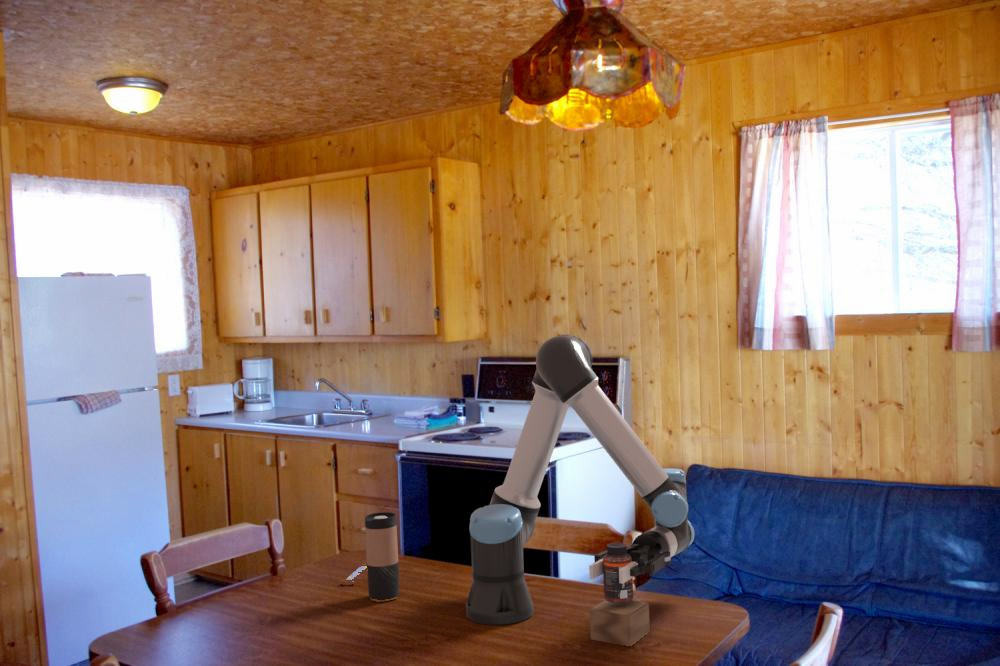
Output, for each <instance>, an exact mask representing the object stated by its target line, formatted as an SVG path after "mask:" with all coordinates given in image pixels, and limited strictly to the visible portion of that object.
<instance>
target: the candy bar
mask: <svg viewBox="0 0 1000 666" xmlns="http://www.w3.org/2000/svg"><path fill="white" fill-rule="evenodd" d="M360 566H361V565H360ZM360 566H359V567H358V568H357V569H356V571H355V570H354V571H353V572H352V573H351V574H350V575H349V576H348V577H346V578H347V579H346V578H345V579H346V580H352V579H354V577H356V576H357V575H359V574H360V573H358V572H362V570H365V569H366V568H367V566H361V567H360ZM345 579H344V580H345ZM344 580H343V579H341V580H340V582H341V581H344ZM345 582H346V581H345ZM352 582H354V581H352Z"/></svg>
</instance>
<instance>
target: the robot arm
mask: <svg viewBox="0 0 1000 666" xmlns="http://www.w3.org/2000/svg"><path fill="white" fill-rule="evenodd" d="M592 356H593V355H592V352H591V348H589V346H588V344H587V343H586V342H585V341H584V340H583V339H581V338H580V337H577V336H575V335H571V334H569V333H568V334H561V335H556V336H553V337H550V338H548V339H547V340H545V341H544V342H543V343H542V344H541V345H540V347H539V348H538V351H537V353H536V357H535V365H536V370H535V372H534V376H533V379H532V381H531V383H532V385H533V388H534V390H535V392H534V395H533V398H532V401H531V404H530V406H529V409H528V413H527V415H526V418H525V421H524V423H523V427H522V429H521V433H520V436H519V439H518V441H517V444H516V447H515V450H514V452H513V456H512V458H511V461H510V464H509V466H508V470H507V473H506V476H505V478H504V481H503V483H502V485H499V486H497V487H495V489H494V491H493V493H492V497H491V500H490V503H489V504H488V505H484V506H483V507H479V508H476V509H475V510H474V511H473V512H472V513H471V515H470V518H469V521H470V522H469V527H468V528H469V534H470V555H471V556H470V557H471V571H472V574H471V575H472V581H471V585H470V589H469V593H468V596H467V600H466V605H465V611H466V612H465V613H466V615H465V616H466V618H467V619H469V621H472V622H474V623H477V624H481V625H489V626H490V625H494V626H496V625H497V626H498V625H509V624H515V623H519V622H523V621H525V620H527V619H529V618H531V617H533V615H534V612H535V610H534V601H533V599H532V596H531V594H530V590H529V587H528V585H527V582H526V579H525V570H524V569H525V568H524V567H525V566H524V548H525V546H526V544H527V543H528V542H529V540H530V539H531V537H533V534H534V531H535V528H536V527H535V525H536V520H537V517H538V514H539V511H540V508H541V506H542V505H541V502H540V500H539V498H538V495H539V492H540V489H541V486H542V484H543V481H544V477H545V475H546V472H547V469H548V466H549V464H550V461H551V457H552V455H553V452H554V450H555V447H556V444H557V441H558V438H559V435H560V433H561V429H562V426H563V424H564V421H565V419H566V415H567V411H568V410H569V407H571V408H572V409H573V410H574V412H575V413H576V415H578V417H579V418H580V420H581V421H582V422H583V424H585V426H586V428H588V430H589V431H590V433H591V434H592V435H593V436H594V438H595V439H596V440H597V442H599V444H600V446H601V447H602V448H603V449H604V450H605V452H606V453H607V454H608V455H609V457H610V458H611V459H612V460H613V462H614V464H615V465H616V466H617V468H619V470H620V472H622V473H623V475H624V476H625V478H626V479H627V480H628V481H629V483H630V484H631V485H632V486H633V487H634V489H635V490H636V492H637V493H638V494H639V496H640V497H641V498H642V500H643V501H644V503H645V504H646V505H647V507H648V508H649V509H650V511H651V513H652V516H653V518H654V527H652V528H650V529H648V530H646V531H644V532H643V533H640V534H639V535H638V536H635V538H634V539H633V542H632V543H631V544H630V545H628V546H626V547H627V551H626V552H627V554H629V555H630V556H631V558H632V562H631V563H630V564H628V565H626V566H624V567H623V568H621V569H619V583H621V584H623V583H625V582H627V581H628V580H630V579H631V578H633V579H634V578H635V577H638V576H642V575H644V574H645V573H647V576H653V575H655V574H656V573H657V572H658V571H660V570H661V569H663V568H664V567H666V566H669V565H671V564H672V563H671V562H672V561H671V560H672V559H671V558H672V557H674V556H676V555H678V554H679V553H683V552H684V551H685V550H687V549H688V548H689V546H690V545H692V543H693V542H694V539H695V534H696V533H695V532H696V531H695V529H694V526H693V525H692V523H691V522H690V520H688V513H689V503H688V498H687V480H686V479H687V478H686V472H685V471H684V470H683V469H681V468H670V467H669V468H663V467H662V466H661V464H660V463H659V462H658V461H657V459H656V458H655V456H654V455H653V454H652V453H651V451H650V450H649V448H647V446H646V445H645V443H644V442H643V441H642V440H641V439H640V438H639V436H638V435H637V434H636V432H635V431H634V429H633V428H632V427H631V426H630V424H629V423H628V421H626V419H625V418H624V417H623V415H622V414H621V412H620V411H619V410H618V409H617V408H616V406H615V405H614V403H613V402H612V401H611V400H610V398H609V397H608V396H607V395H606V393H605V392H604V391H603V390H602V388H601V387H600V386H599V377H598V376H597V375H596V372H595V371H593V368H592V367H593V366H592V365H593V357H592ZM607 553H608V552H607V549H605V550H603V551H601V552H599V553H596V554H594V558H593V559H594V562H593V563H592V564H590V565H589V566H588V567H589V568H588V569H589V580H594V579H596V578H599V576H600V577H601V575H603V557H604V556H605V555H606V554H607Z"/></svg>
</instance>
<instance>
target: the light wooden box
mask: <svg viewBox="0 0 1000 666" xmlns="http://www.w3.org/2000/svg"><path fill="white" fill-rule="evenodd" d="M588 611H589V612H588V613H589V627H590V628H589V631H590V633H589V634H590V640H592V641H593V640H594V641H599V642H603V643H609V644H612V645H613V644H614V645H618V644H619V645H620V646H624V645H625V647H629V646H631V647H632V645H633V644H634V645H635V644H637V643H638V642H639V641H641V640H642V639H643V638H644V636H645V635H646V636H647V635H648V633H649V632H651V626H650V625H651V624H650V604H649V602H648V603H647V602H644V601H639V600H633V599H632V600H631V601H629V602H626V603H612V602H608V601H607V600H606V599H605V600H603V601H601V602H600V603H598V604H597V605H595V606H594V607H592V608H590V609H589V610H588ZM649 634H650V633H649ZM646 636H645V637H646ZM641 638H642V639H641ZM640 639H641V640H640ZM637 641H638V642H637ZM636 642H637V643H636ZM619 645H618V646H619ZM634 645H633V646H634Z"/></svg>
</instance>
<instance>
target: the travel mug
mask: <svg viewBox="0 0 1000 666" xmlns="http://www.w3.org/2000/svg"><path fill="white" fill-rule="evenodd" d="M364 529H365V555H366V556H365V558H366V559H365V560H366V564H367V575H366V576H367V585H368V598H369V597H370V598H372V599H377V600H385V599H391V598H394V597H397V596H398V595H400V584H399V583H400V580H399V579H400V577H399V576H400V575H399V574H400V572H399V569H400V568H399V549H398V548H399V546H398V531H397V530H398V527H397V514H396V513H394V512H386V511H385V512H384V511H382V512H373V513H369V514H366V515H365V516H364Z"/></svg>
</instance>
